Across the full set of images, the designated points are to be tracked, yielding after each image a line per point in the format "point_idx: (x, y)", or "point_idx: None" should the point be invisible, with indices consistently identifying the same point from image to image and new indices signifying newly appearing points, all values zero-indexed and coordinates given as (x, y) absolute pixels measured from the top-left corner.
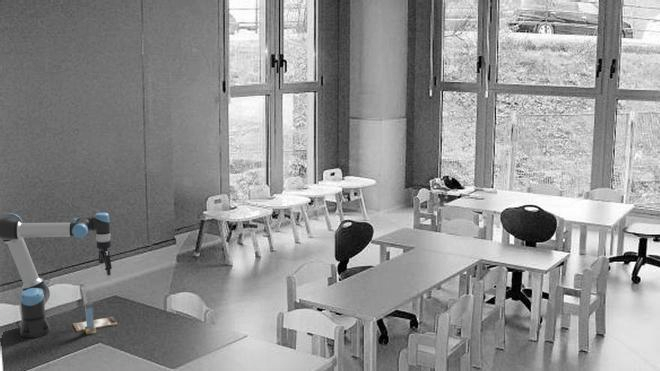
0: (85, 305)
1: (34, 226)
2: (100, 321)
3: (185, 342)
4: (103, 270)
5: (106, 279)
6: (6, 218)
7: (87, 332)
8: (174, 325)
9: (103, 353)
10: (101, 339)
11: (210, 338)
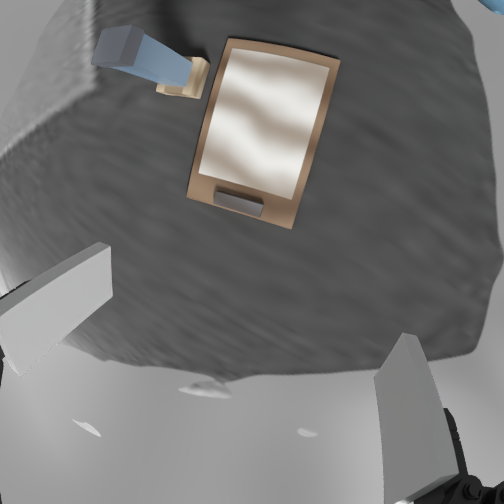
0: (108, 29)
1: None
2: (267, 154)
3: (22, 256)
4: (390, 407)
5: (84, 250)
6: None
7: None
8: (98, 311)
9: (45, 83)
10: (109, 95)
11: None
